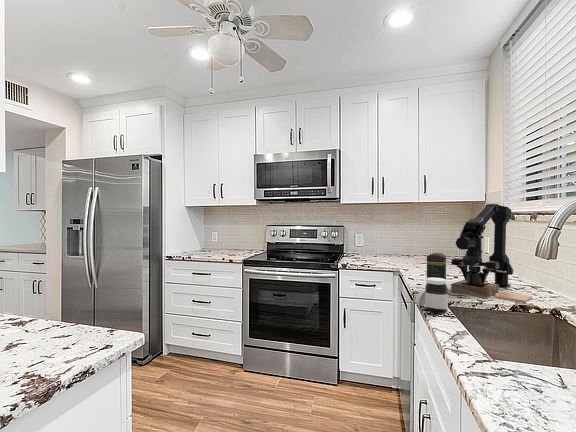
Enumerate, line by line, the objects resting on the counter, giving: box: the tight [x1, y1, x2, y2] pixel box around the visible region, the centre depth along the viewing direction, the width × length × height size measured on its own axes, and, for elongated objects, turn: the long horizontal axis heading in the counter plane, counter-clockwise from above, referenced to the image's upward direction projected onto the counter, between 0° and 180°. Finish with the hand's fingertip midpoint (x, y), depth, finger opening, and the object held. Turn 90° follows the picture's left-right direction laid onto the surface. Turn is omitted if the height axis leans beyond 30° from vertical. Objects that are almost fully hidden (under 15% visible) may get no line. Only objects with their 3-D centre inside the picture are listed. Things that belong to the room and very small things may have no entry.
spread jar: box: [415, 277, 449, 314], centre depth 122 cm, size 12×11×12 cm
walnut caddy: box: [450, 279, 500, 298], centre depth 148 cm, size 15×15×4 cm
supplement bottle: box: [466, 265, 484, 287], centre depth 148 cm, size 7×7×12 cm
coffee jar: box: [426, 252, 447, 280], centre depth 145 cm, size 10×8×19 cm
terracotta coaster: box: [493, 291, 533, 303], centre depth 137 cm, size 11×11×1 cm
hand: (474, 281), depth 148 cm, fingers closed on supplement bottle, 7 cm apart
